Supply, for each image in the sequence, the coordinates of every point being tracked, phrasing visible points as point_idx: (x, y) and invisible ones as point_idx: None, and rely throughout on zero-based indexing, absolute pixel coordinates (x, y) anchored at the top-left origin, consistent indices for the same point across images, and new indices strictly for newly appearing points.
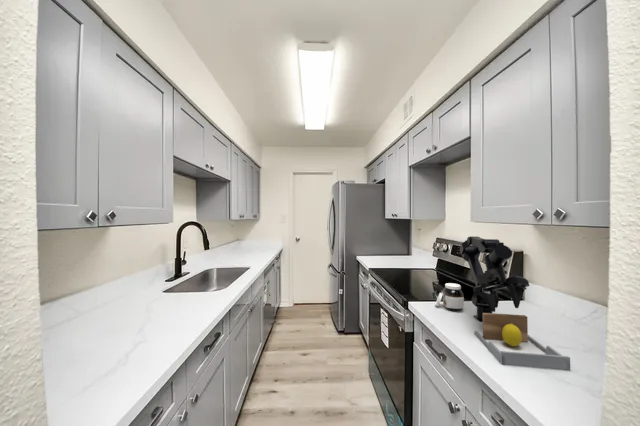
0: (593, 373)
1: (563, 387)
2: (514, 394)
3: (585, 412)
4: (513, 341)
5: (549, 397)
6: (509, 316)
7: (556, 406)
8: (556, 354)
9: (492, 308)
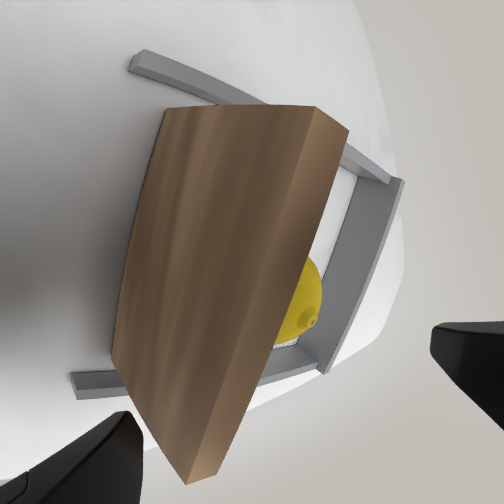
0: (381, 112)
1: None
2: (350, 354)
3: (399, 269)
4: None
5: (374, 302)
6: (279, 315)
7: (382, 303)
8: (364, 170)
9: (141, 459)
